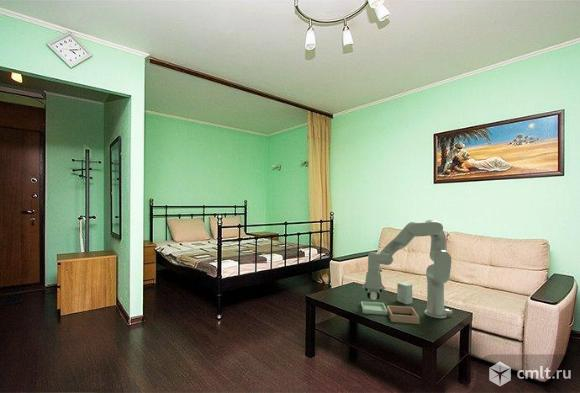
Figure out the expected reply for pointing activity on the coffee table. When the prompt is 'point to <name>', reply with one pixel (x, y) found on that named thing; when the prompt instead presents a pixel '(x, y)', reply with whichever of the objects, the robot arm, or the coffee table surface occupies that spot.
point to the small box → (404, 293)
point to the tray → (374, 308)
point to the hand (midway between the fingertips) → (373, 298)
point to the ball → (373, 295)
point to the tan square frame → (403, 318)
